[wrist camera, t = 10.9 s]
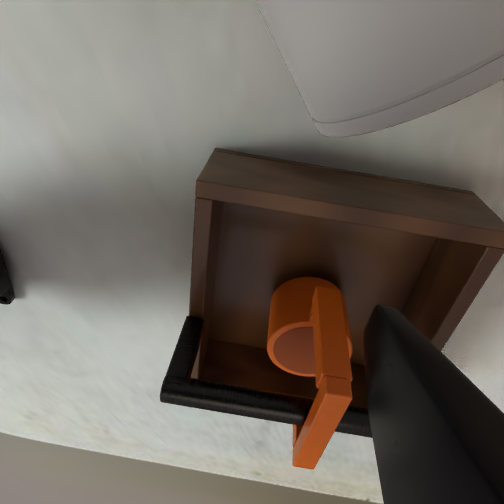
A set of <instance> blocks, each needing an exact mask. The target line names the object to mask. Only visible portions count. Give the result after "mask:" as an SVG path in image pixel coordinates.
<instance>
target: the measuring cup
mask: <svg viewBox="0 0 504 504" xmlns="http://www.w3.org/2000/svg"><path fill="white" fill-rule="evenodd" d="M352 351H353V347H352V340H351V334H350V327H349V321H348V314H347V308H346V301H345V297H344V295H343V293H342V292H341V291H340V289H339V288H338V287H337V286H335V285H334V284H332V283H331V282H329V281H327V280H324V279H321V278H317V277H299V278H295V279H291V280H289V281H287V282H285V283H283V284H282V285H280V286H279V287H278V288H277V289H276V290H275V292H274V293H273V295H272V298H271V303H270V315H269V327H268V338H267V352H268V355H269V357H270V359H271V360H272V362H273V363H274V364H275V365H277V366H278V367H279V368H281V369H282V370H284V371H286V372H289V373H292V374H295V375H300V376H309V377H312V376H315V377H316V388H318V389H319V391H318V393H317V395H316V398H315V400H314V402H313V404H312V407H311V409H310V411H309V414H308V416H307V418H306V421H305V423H304V425H303V426H300V425H294V424H293V466H295V467H301V468H307V469H314V468H315V466H316V464H317V462H318V461H319V459H320V457H321V455H322V453H323V451H324V450H325V448H326V446H327V444H328V442H329V440H330V439H331V437H332V435H333V433H334V431H335V429H336V428H337V426H338V424H339V422H340V420H341V418H342V417H343V415H344V413H345V411H346V409H347V407H348V406H349V404H350V402H351V400H352V398H353V397H352V390H351V381H352V379H353V378H352V371H351V364H350V358H351V355H352Z"/></svg>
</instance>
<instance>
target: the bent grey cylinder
mask: <svg viewBox="0 0 504 504" xmlns="http://www.w3.org/2000/svg"><path fill="white" fill-rule="evenodd" d="M255 1H256V3H257V5H258V7H259V9H260V11H261V13H262V16H263V18H264V20H265V22H266V24H267V26H268V28H269V30H270V32H271V34H272V36H273V38H274V40H275V42H276V45H277V47H278V49H279V51H280V53H281V55H282V57H283V59H284V61H285V63H286V65H287V67H288V69H289V72H290V74H291V76H292V78H293V80H294V82H295V84H296V86H297V88H298V90H299V92H300V94H301V96H302V98H303V101H304V103H305V105H306V107H307V109H308V111H309V113H310V115H311V117H312V119H313V121H314V123H315V125H316V128H317V130H318V132H320V133H321V134H322V135H325V136H328V137H348V136H355V135H361V134H365V133H370V132H374V131H378V130H381V129H385V128H388V127H392V126H395V125H398V124H401V123H404V122H407V121H410V120H413V119H415V118H418V117H421V116H423V115H426V114H429V113H431V112H434V111H436V110H438V109H441V108H443V107H445V106H448V105H450V104H453V103H455V102H457V101H459V100H461V99H464V98H466V97H468V96H470V95H472V94H474V93H476V92H479V91H481V90H483V89H485V88H487V87H488V86H490V85H492V84H494V83H496V82H498V81H500V80H502V79H504V0H255Z"/></svg>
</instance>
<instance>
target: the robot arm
mask: <svg viewBox="0 0 504 504" xmlns="http://www.w3.org/2000/svg"><path fill="white" fill-rule="evenodd" d="M14 299H15V296H14V293H13V290H12V286H11V283H10V280H9V276H8V273H7V270H6V266H5V263H4V260H3V256H2V253H1V250H0V303H1V304H10V303H11V302H12V301H13V300H14ZM363 346H364V365H365V384H366V399H367V406H368V413H369V419H370V425H371V431H372V437H373V442H374V448H375V454H376V460H377V466H378V472H379V478H380V483H381V489H382V495H383V501H384V504H504V413H503V412H502V411H501V410H500V409H499V408H498V407H497V406H496V405H495V404H494V403H493V402H492V401H491V400H490V399H489V398H487V397H486V396H485V395H484V394H483V393H482V392H481V391H480V390H479V389H478V388H477V387H476V386H475V385H474V384H473V383H472V382H471V381H470V380H469V379H468V378H467V377H466V376H465V375H464V374H463V373H462V372H461V371H460V370H459V369H458V368H457V367H456V366H455V365H454V364H453V363H452V362H451V361H450V360H449V359H448V358H447V357H446V356H445V355H444V354H443V353H442V352H441V351H440V350H439V349H438V348H437V347H436V346H435V345H433V344H432V343H431V342H430V341H429V340H428V339H427V338H426V337H425V336H424V335H423V334H422V333H421V332H420V331H419V330H418V329H417V328H416V327H415V326H414V325H413V324H412V323H411V322H410V321H409V320H408V319H407V318H406V317H405V316H404V315H403V314H402V313H401V312H400V311H399V310H398V309H397V308H395V307H393V306H387V305H381V304H378V305H376V306H375V307H374V309H373V311H372V313H371V316H370V318H369V320H368V323H367V325H366V327H365V330H364V334H363Z"/></svg>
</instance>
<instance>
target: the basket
mask: <svg viewBox="0 0 504 504" xmlns="http://www.w3.org/2000/svg"><path fill="white" fill-rule="evenodd" d="M195 196H196V198H195V214H194V232H193V250H192V268H191V286H190V304H189V316H192V317H198V318H203V319H204V320H205V321H204V332H203V335H202V339H201V342H200V346H199V349H198V353H197V356H196V360H195V363H194V367H193V371H192V374H191V378H195V379H201V380H207V381H213V382H219V383H225V384H231V385H237V386H243V387H249V388H254V389H260V390H266V391H272V392H278V393H284V394H290V395H296V396H302V397H308V398H314V399H315V398H316V395H317V393H318V391H319V389H318V388H316V377H315V376H312V377H309V376H300V375H295V374H292V373H289V372H286V371H284V370H282V369H281V368H279V367H278V366H277V365H275V364H274V363H273V362H272V360H271V359H270V357H269V355H268V352H267V338H268V327H269V315H270V303H271V298H272V295H273V293H274V292H275V290H276V289H277V288H278V287H279V286H280V285H282V284H283V283H285V282H287V281H289V280H291V279H295V278H299V277H317V278H321V279H324V280H327V281H329V282H331V283H332V284H334V285H335V286H337V287H338V288H339V289H340V291H341V292H342V293H343V295H344V297H345V301H346V308H347V314H348V321H349V327H350V334H351V340H352V347H353V351H352V355H351V358H350V364H351V371H352V378H353V379H352V381H351V390H352V397H353V398H352V400H351V402H350V404H349V405H355V406H361V407H367V408H368V406H367V399H366V384H365V365H364V346H363V334H364V330H365V327H366V325H367V323H368V320H369V318H370V316H371V313H372V311H373V309H374V307H375V306H376V305H378V304H381V305H387V306H393V307H395V308H397V309H398V310H399V311H400V312H401V313H402V314H403V315H404V316H405V317H406V318H407V319H408V320H409V321H410V322H411V323H412V324H413V325H414V326H415V327H416V328H417V329H418V330H419V331H420V332H421V333H422V334H423V335H424V336H425V337H426V338H427V339H428V340H429V341H430V342H431V343H432V344H433V345H435V346H436V347H437V348H438V349H439V350H440V351H441V350H442V349H443V347H444V346H445V344H446V343H447V341H448V339H449V338H450V336H451V335H452V333H453V332H454V330H455V328H456V327H457V325H458V324H459V322H460V321H461V319H462V317H463V316H464V314H465V313H466V311H467V310H468V308H469V306H470V305H471V303H472V302H473V300H474V299H475V297H476V295H477V294H478V292H479V291H480V289H481V288H482V286H483V285H484V283H485V281H486V280H487V278H488V277H489V275H490V274H491V272H492V270H493V269H494V267H495V266H496V264H497V263H498V261H499V259H500V258H501V256H502V255H503V253H504V222H503V221H502V220H501V219H500V218H499V217H498V216H497V215H496V214H495V213H494V212H493V211H492V210H491V209H490V208H489V207H488V206H487V205H486V204H485V203H484V202H483V201H482V200H481V199H480V198H479V197H477V196H476V195H475V193H473V192H472V191H466V190H460V189H454V188H448V187H442V186H436V185H430V184H424V183H418V182H412V181H406V180H400V179H394V178H388V177H383V176H377V175H371V174H365V173H359V172H353V171H347V170H341V169H335V168H329V167H323V166H317V165H311V164H305V163H299V162H293V161H287V160H281V159H275V158H269V157H263V156H257V155H251V154H245V153H239V152H233V151H227V150H221V149H214V151H213V153H212V155H211V156H210V158H209V160H208V162H207V163H206V165H205V167H204V168H203V170H202V172H201V174H200V175H199V177H198V179H197V180H196V194H195Z"/></svg>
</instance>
